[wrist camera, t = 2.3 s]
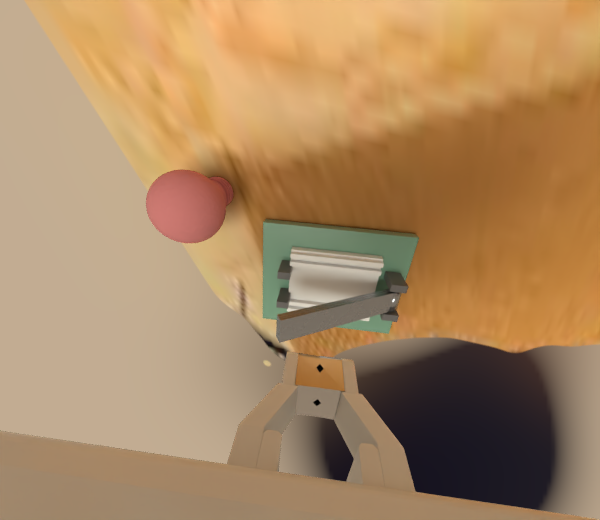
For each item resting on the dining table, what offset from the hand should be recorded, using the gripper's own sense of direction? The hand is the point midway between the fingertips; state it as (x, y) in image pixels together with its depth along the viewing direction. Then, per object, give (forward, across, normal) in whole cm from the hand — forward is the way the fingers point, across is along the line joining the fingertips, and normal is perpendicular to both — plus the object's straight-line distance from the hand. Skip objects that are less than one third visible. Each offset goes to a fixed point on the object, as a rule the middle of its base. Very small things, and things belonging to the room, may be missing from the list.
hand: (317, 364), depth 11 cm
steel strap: (+16, -4, +8) cm, 19 cm away
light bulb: (+24, +14, -2) cm, 27 cm away
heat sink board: (+23, -3, +8) cm, 25 cm away
